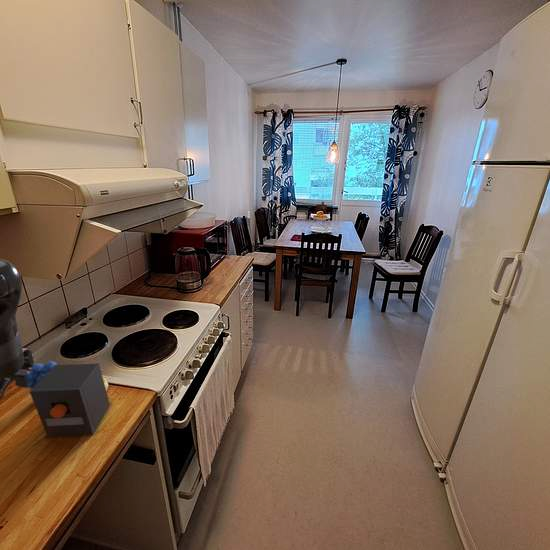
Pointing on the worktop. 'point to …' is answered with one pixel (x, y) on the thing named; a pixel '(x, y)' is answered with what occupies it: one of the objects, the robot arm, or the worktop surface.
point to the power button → (58, 411)
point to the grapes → (38, 373)
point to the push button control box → (71, 399)
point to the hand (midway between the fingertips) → (8, 401)
